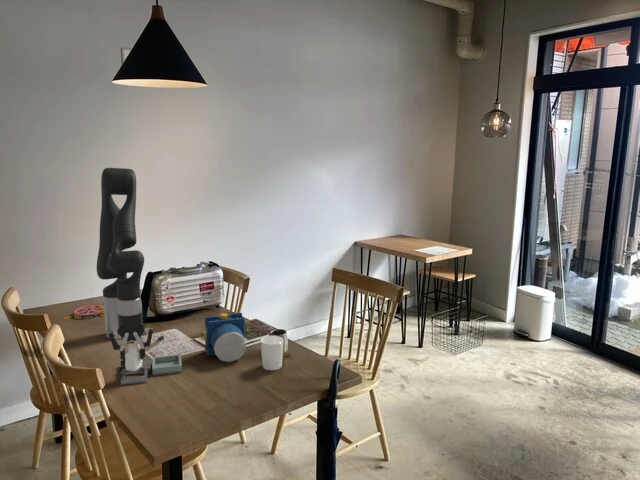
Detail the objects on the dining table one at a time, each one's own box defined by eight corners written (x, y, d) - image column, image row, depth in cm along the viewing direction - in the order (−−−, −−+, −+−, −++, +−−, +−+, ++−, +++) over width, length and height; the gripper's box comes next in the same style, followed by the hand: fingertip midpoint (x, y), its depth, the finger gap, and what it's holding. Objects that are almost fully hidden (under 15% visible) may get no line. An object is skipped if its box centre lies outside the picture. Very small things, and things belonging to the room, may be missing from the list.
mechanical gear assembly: (61, 314, 233) (68, 325, 221) (60, 306, 232) (67, 316, 220) (128, 302, 250) (138, 312, 239) (127, 294, 249) (137, 303, 238)
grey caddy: (121, 366, 180) (120, 355, 179) (151, 362, 183) (150, 352, 182) (118, 385, 166) (117, 374, 165) (150, 381, 169) (149, 370, 168)
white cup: (286, 363, 183) (286, 337, 181) (278, 372, 176) (277, 345, 174) (266, 360, 186) (266, 334, 184) (257, 369, 179) (256, 342, 177)
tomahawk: (145, 363, 185) (145, 360, 185) (128, 359, 187) (128, 357, 186) (175, 340, 205) (175, 338, 205) (160, 337, 206) (160, 335, 206)
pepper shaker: (142, 366, 173) (140, 340, 171) (135, 372, 169) (134, 345, 167) (131, 365, 173) (130, 339, 171) (124, 370, 169) (123, 343, 168)
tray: (153, 364, 182) (152, 357, 182) (180, 360, 185) (180, 354, 184) (152, 375, 173) (152, 368, 173) (182, 372, 176) (181, 365, 175)
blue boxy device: (203, 349, 194) (203, 314, 189) (242, 344, 199) (243, 309, 194) (210, 368, 182) (209, 331, 177) (251, 362, 188) (251, 325, 183)
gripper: (153, 305, 172) (155, 352, 176) (107, 308, 168) (110, 357, 172) (152, 312, 165) (155, 361, 169) (105, 316, 161) (108, 366, 165)
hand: (133, 359), depth 170 cm, fingers closed on pepper shaker, 5 cm apart
